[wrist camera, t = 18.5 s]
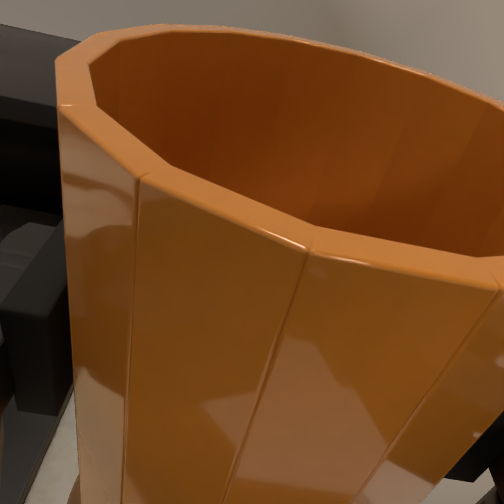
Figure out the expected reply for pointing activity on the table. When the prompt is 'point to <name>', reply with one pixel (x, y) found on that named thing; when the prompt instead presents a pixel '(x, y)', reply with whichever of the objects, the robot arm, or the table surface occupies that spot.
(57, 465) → the table surface
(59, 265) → the robot arm
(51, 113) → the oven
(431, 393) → the cup
